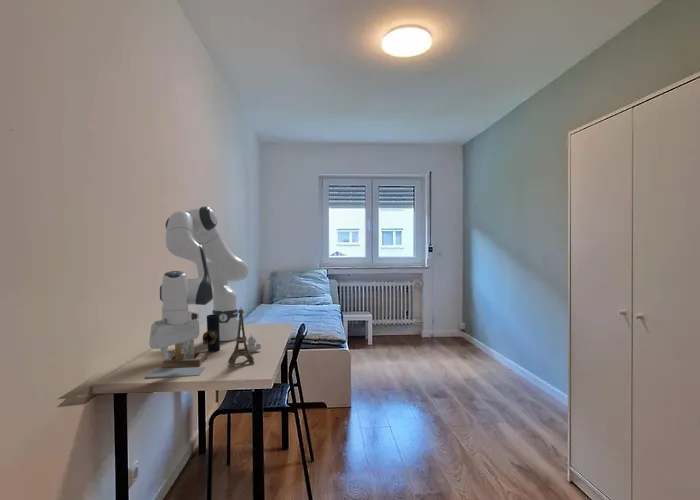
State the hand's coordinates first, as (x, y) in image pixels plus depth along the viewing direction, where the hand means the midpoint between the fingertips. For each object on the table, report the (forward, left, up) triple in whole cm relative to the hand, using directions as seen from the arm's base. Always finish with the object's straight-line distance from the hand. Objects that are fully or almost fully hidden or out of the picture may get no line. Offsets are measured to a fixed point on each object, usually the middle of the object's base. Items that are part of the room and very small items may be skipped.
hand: (175, 355), depth 160 cm
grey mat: (0, 0, -6) cm, 6 cm away
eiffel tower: (-9, +22, -6) cm, 25 cm away
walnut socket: (-14, 0, -6) cm, 15 cm away
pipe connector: (-30, +7, -6) cm, 31 cm away
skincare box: (-14, 0, -6) cm, 15 cm away
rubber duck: (-27, +24, -6) cm, 37 cm away
